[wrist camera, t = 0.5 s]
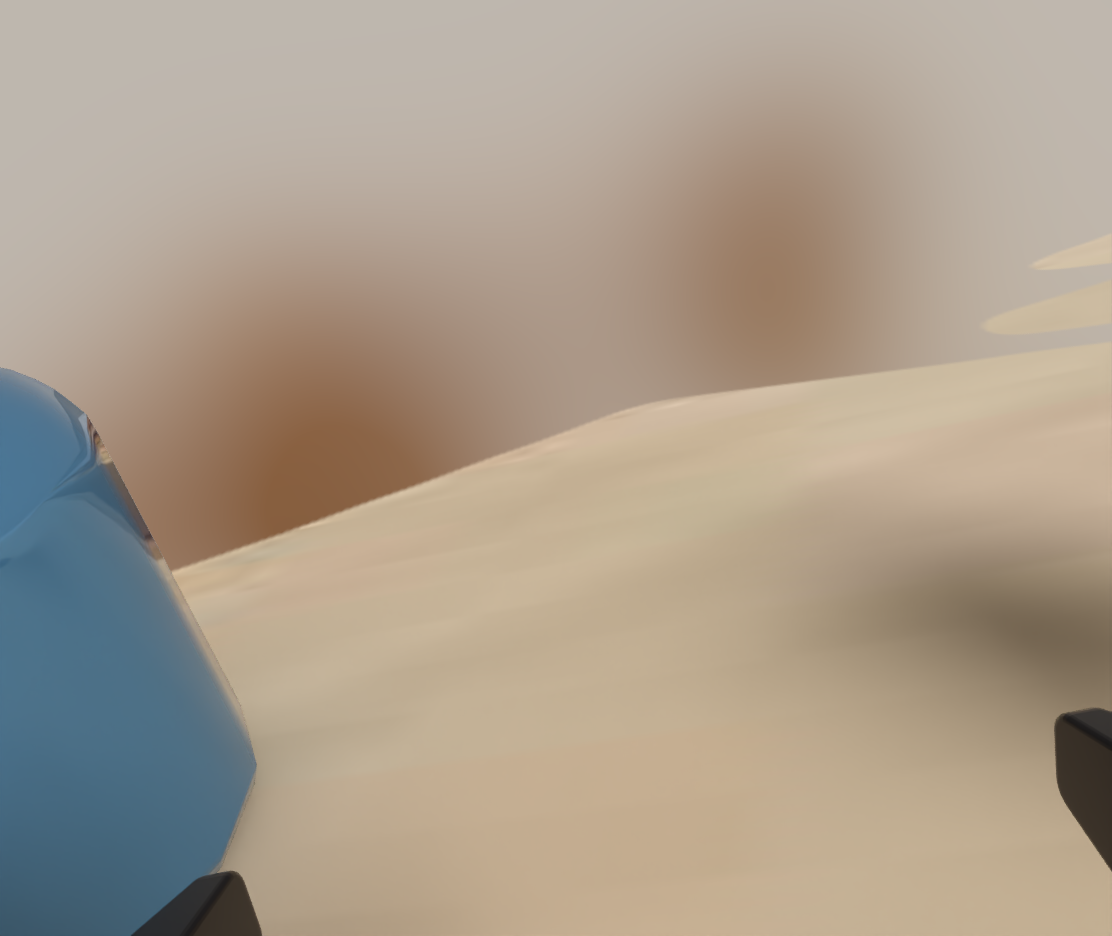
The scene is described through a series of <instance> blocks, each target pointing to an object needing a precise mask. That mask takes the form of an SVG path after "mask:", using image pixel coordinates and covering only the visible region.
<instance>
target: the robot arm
mask: <svg viewBox="0 0 1112 936" xmlns="http://www.w3.org/2000/svg"><path fill="white" fill-rule="evenodd" d="M1054 734H1055V756H1056V777H1057V784H1058V788H1059V791H1060V793H1061V796H1062V798H1063V800H1064V802H1065V804H1066V805H1067V807H1068V808H1069V810H1070V811H1071V813H1072V814H1073V816H1074V817H1075V819H1076V820H1077V821H1078V823H1079V824H1080V826H1081V827H1082V829H1083V830H1084V832H1085V833H1086V835H1087V836H1088V838H1089V839H1090V840H1091V842H1092V843H1093V845H1094V846H1095V848H1096V849H1097V851H1098V852H1099V854H1100V855H1101V857H1102V858H1103V859H1104V861H1105V862H1106V864H1107V865H1108V867H1109V868H1110V870H1111V871H1112V712H1110V711H1107V710H1104V709H1101V708H1088V709H1083V710H1078V711H1073V712H1067V713H1063V714H1061V715H1060V716H1058V717H1057V719H1056V721H1055V726H1054ZM131 936H262V932H261V928H260V925H259V922H258V919H257V916H256V913H255V911H254V908H253V905H252V902H251V899H250V897H249V894H248V891H247V888H246V885H245V882H244V880H243V878H242V877H241V875H240V874H239V873H237V872H235V871H227V872H221V873H216V874H211V875H205V876H202V877H199V878H197V879H196V880H195V881H193V882H192V883H191V884H190V885H189V886H188V887H186V888H185V889H184V890H183V891H182V892H181V893H179V894H178V895H177V896H176V897H175V898H174V899H172V900H171V901H170V902H169V903H168V904H167V905H165V906H164V907H163V908H162V909H161V910H160V911H159V912H157V913H156V914H155V915H154V916H153V917H152V918H150V919H149V920H148V921H147V922H146V923H145V924H143V925H142V926H141V927H140V928H139V929H138V930H136V931H135V932H134V933H133V934H132V935H131Z"/></svg>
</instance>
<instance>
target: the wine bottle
mask: <svg viewBox="0 0 1112 936" xmlns="http://www.w3.org/2000/svg"><path fill="white" fill-rule="evenodd" d="M256 765H257V764H256V761H255V757H254V753H253V749H252V745H251V741H250V738H249V734H248V730H247V726H246V722H245V718H244V715H243V711H242V707H241V704H240V702H239V700H238V698H237V696H236V695H235V693H234V691H233V689H232V687H231V685H230V683H229V681H228V679H227V677H226V676H225V674H224V672H223V670H222V668H221V666H220V664H219V662H218V660H217V658H216V657H215V655H214V653H213V651H212V649H211V647H210V645H209V643H208V641H207V639H206V638H205V636H204V634H203V632H202V630H201V628H200V626H199V624H198V622H197V620H196V619H195V617H194V615H193V613H192V611H191V609H190V607H189V605H188V603H187V601H186V600H185V598H184V596H183V594H182V592H181V590H180V588H179V586H178V584H177V582H176V581H175V579H174V577H173V575H172V573H171V571H170V569H169V567H168V566H167V563H166V562H165V560H164V558H163V556H162V554H161V552H160V550H159V548H158V546H157V544H156V543H155V541H154V539H153V537H152V535H151V533H150V531H149V529H148V527H147V525H146V524H145V522H144V520H143V518H142V516H141V514H140V512H139V510H138V508H137V506H136V505H135V503H134V501H133V499H132V497H131V495H130V493H129V491H128V489H127V488H126V486H125V484H124V482H123V480H122V478H121V476H120V474H119V472H118V470H117V469H116V467H115V465H114V463H113V461H112V459H111V457H110V455H109V453H108V451H107V449H106V448H105V446H104V444H103V442H102V440H101V438H100V436H99V434H98V433H97V431H96V429H95V428H94V426H93V424H92V423H91V421H90V419H89V418H88V416H87V415H86V414H85V413H84V412H83V411H81V410H80V409H79V408H78V407H77V406H76V405H74V404H73V403H72V402H71V401H69V400H68V399H67V398H65V397H64V396H63V395H61V394H60V393H58V392H57V391H56V390H54V389H53V388H51V387H49V386H47V385H45V384H43V383H42V382H40V381H37V380H36V379H33V378H31V377H28V376H26V375H23V374H20V373H18V372H15V371H13V370H9V369H4V368H0V936H131V935H132V934H133V933H134V932H135V931H136V930H138V929H139V928H140V927H141V926H142V925H143V924H145V923H146V922H147V921H148V920H149V919H150V918H152V917H153V916H154V915H155V914H156V913H157V912H159V911H160V910H161V909H162V908H163V907H164V906H165V905H167V904H168V903H169V902H170V901H171V900H172V899H174V898H175V897H176V896H177V895H178V894H179V893H181V892H182V891H183V890H184V889H185V888H186V887H188V886H189V885H190V884H191V883H192V882H193V881H195V880H196V879H197V878H199V877H202V876H205V875H211V874H216V873H217V872H218V870H219V869H220V868H221V867H222V865H223V862H224V860H225V857H226V855H227V852H228V849H229V847H230V844H231V842H232V839H233V837H234V834H235V832H236V829H237V827H238V824H239V822H240V819H241V817H242V814H243V812H244V809H245V807H246V804H247V802H248V799H249V797H250V794H251V792H252V789H253V787H254V784H255V775H256Z"/></svg>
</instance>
